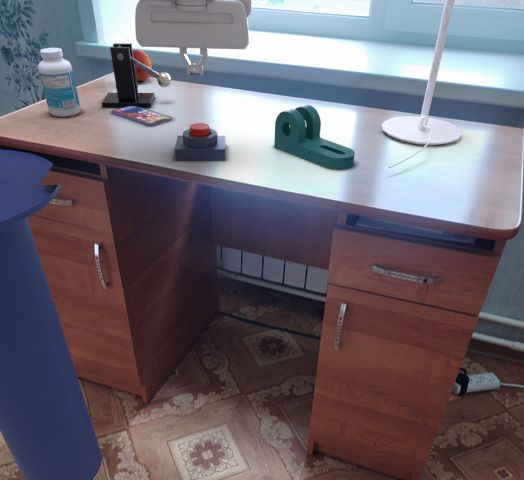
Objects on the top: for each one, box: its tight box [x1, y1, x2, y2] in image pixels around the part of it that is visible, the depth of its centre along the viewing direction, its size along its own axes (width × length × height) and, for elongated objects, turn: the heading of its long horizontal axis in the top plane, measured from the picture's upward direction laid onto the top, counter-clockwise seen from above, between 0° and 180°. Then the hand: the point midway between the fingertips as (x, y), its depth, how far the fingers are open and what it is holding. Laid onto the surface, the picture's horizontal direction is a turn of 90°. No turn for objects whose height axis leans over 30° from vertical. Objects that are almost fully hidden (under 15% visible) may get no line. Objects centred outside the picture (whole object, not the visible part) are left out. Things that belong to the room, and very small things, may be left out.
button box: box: [174, 128, 226, 161], centre depth 103 cm, size 10×8×4 cm
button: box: [189, 122, 211, 137], centre depth 102 cm, size 4×4×2 cm
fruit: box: [132, 49, 153, 82], centre depth 143 cm, size 8×8×8 cm
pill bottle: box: [37, 47, 82, 118], centre depth 118 cm, size 8×7×14 cm
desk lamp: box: [381, 0, 463, 169], centre depth 95 cm, size 37×18×45 cm, turn 169°
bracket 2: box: [273, 104, 356, 171], centre depth 103 cm, size 18×7×8 cm, turn 43°
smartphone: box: [111, 106, 173, 127], centre depth 122 cm, size 1×7×15 cm
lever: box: [118, 45, 172, 88], centre depth 125 cm, size 14×3×3 cm, turn 93°
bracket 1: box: [101, 42, 155, 109], centre depth 126 cm, size 12×9×13 cm
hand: (195, 74), depth 95 cm, fingers closed
